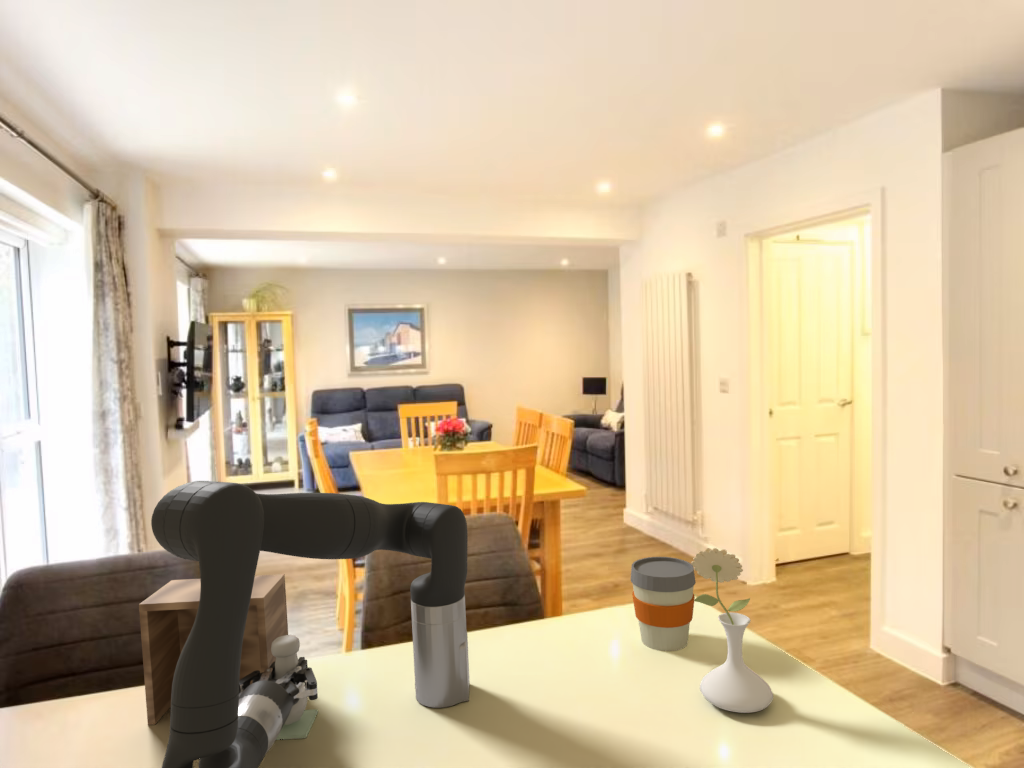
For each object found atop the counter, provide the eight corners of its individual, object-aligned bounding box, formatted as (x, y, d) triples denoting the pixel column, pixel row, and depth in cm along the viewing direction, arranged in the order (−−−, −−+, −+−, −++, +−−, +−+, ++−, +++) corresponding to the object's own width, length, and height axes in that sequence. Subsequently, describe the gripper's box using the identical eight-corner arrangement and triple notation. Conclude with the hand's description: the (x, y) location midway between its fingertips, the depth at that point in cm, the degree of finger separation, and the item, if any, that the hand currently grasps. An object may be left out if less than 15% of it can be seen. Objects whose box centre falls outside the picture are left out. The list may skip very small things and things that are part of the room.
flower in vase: (784, 697, 106) (781, 548, 105) (756, 729, 98) (752, 568, 96) (709, 672, 115) (706, 535, 114) (678, 700, 107) (674, 551, 105)
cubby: (291, 682, 117) (284, 574, 116) (271, 717, 106) (263, 597, 105) (179, 689, 117) (171, 580, 116) (147, 724, 106) (138, 604, 105)
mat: (317, 712, 107) (317, 709, 107) (306, 738, 100) (305, 734, 100) (275, 715, 107) (275, 711, 107) (260, 740, 100) (260, 737, 100)
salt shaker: (296, 729, 100) (291, 647, 99) (262, 726, 101) (258, 645, 101) (314, 709, 106) (310, 631, 105) (283, 706, 107) (278, 629, 106)
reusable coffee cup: (708, 637, 129) (706, 563, 128) (678, 662, 119) (676, 582, 118) (651, 621, 137) (649, 552, 136) (620, 643, 128) (617, 569, 127)
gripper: (304, 692, 89) (333, 638, 106) (200, 698, 88) (247, 643, 106) (307, 745, 89) (336, 682, 106) (204, 752, 89) (250, 687, 106)
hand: (291, 663), depth 106 cm, fingers closed on salt shaker, 3 cm apart
